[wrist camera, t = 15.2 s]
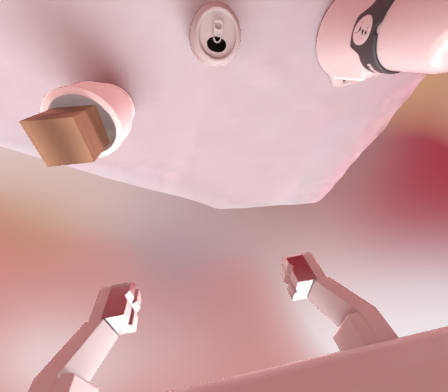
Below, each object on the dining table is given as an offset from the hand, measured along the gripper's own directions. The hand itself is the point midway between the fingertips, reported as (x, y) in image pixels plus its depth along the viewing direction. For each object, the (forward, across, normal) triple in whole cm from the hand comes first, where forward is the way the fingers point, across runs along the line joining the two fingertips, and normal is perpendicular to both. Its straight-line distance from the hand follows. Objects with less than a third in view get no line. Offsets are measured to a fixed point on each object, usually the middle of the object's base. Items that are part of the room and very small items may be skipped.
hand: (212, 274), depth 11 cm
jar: (+41, +16, -2) cm, 44 cm away
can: (+41, -5, -12) cm, 43 cm away
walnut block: (+26, +16, -2) cm, 31 cm away
